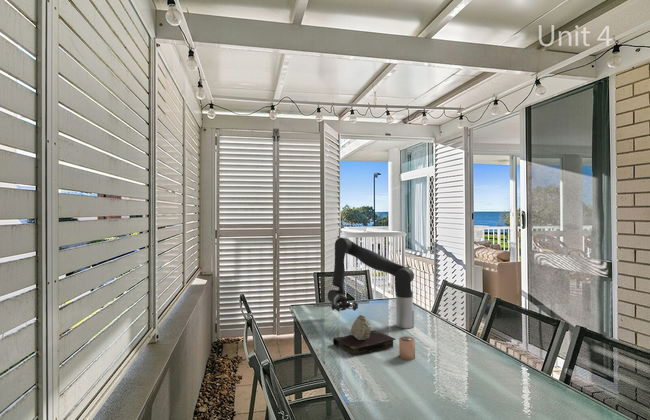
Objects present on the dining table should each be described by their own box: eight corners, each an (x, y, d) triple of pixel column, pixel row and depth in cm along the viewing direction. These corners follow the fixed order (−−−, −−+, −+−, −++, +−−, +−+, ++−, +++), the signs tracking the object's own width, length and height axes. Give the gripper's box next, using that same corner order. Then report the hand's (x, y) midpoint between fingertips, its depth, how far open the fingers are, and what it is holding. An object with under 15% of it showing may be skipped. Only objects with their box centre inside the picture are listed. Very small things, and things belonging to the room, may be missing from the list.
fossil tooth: (358, 334, 191) (374, 341, 177) (347, 336, 188) (363, 342, 175) (357, 311, 192) (374, 316, 179) (347, 312, 189) (362, 317, 176)
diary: (333, 347, 185) (332, 336, 185) (374, 338, 197) (374, 329, 197) (353, 359, 168) (353, 348, 168) (397, 349, 180) (397, 339, 180)
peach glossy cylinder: (411, 353, 173) (411, 335, 173) (417, 359, 166) (417, 340, 166) (397, 354, 172) (397, 336, 172) (402, 360, 165) (402, 341, 165)
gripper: (328, 296, 214) (333, 302, 198) (353, 295, 216) (359, 301, 200) (329, 309, 213) (333, 316, 197) (353, 308, 216) (360, 315, 199)
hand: (346, 309), depth 199 cm, fingers open, 8 cm apart
